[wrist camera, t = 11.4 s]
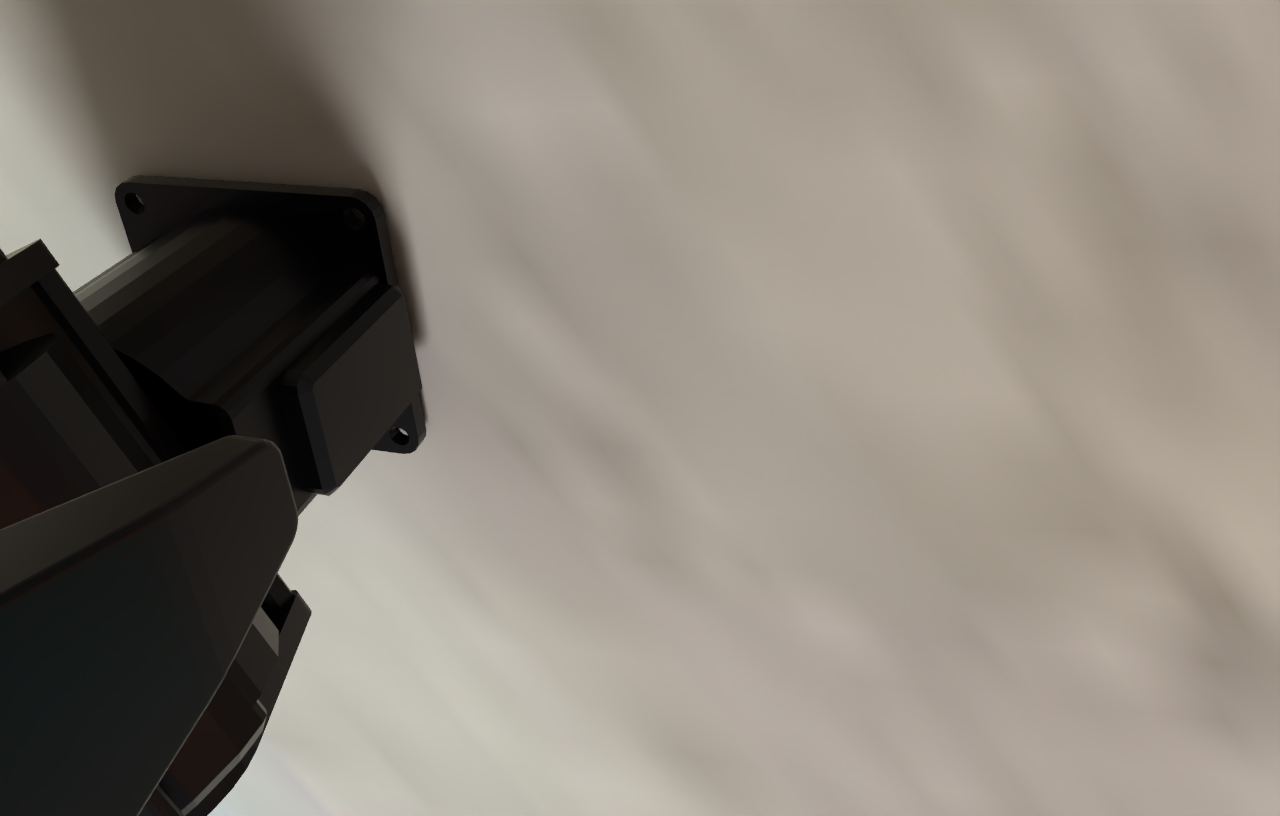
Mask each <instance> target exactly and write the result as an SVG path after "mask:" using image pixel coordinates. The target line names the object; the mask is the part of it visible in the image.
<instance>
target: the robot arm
mask: <svg viewBox="0 0 1280 816" xmlns="http://www.w3.org/2000/svg"><path fill="white" fill-rule="evenodd" d="M136 194H137V195H138V196H139V197H140V198H141V199H142V201H143V202H144V205H145V206H144V205H143V204H142V203H141V202H140V201H139V200H138V198H137V196H136ZM115 199H116V204H117V207H118V210H119V213H120V216H121V219H122V222H123V225H124V228H125V231H126V234H127V237H128V241H129V244H130V247H131V250H132V254H130V255H129V256H127V257H126V258H124V259H123V260H121V261H120V262H118V263H117V264H115V265H114V266H112V267H110V268H109V269H107V270H106V271H104V272H103V273H101V274H100V275H98V276H97V277H95V278H94V279H92V280H91V281H89V282H88V283H86V284H85V285H83V286H82V287H80V288H79V289H77V290H76V291H74V292H72V291H71V290H70V288H69V287H68V286H67V284H66V283H65V281H64V280H63V279H62V277H61V276H60V275H59V273H58V272H57V271H56V269H55V268H56V267H58V266H59V264H58V262H57V261H56V260H55V258H54V257H53V255H52V254H51V253H50V251H49V250H48V249H47V247H46V246H45V244H44V243H43V242H42V240H41V239H39V240H37V241H35V242H33V243H31V244H29V245H26V246H24V247H22V248H20V249H18V250H16V251H14V252H12V253H10V254H8V255H6V256H5V254H4V253H3V252H2V250H1V249H0V816H207V815H208V814H209V813H210V812H211V811H212V810H213V809H214V808H215V807H216V806H217V805H218V804H219V803H220V802H221V801H222V799H223V798H224V797H225V796H226V795H227V794H228V793H229V792H230V791H231V790H232V788H233V787H234V786H235V784H236V783H237V781H238V780H239V779H240V777H241V776H242V774H243V773H244V772H245V770H246V769H247V767H248V765H249V763H250V761H251V760H252V758H253V756H254V754H255V752H256V750H257V748H258V745H259V743H260V740H261V738H262V735H263V733H264V730H265V728H266V725H267V723H268V720H269V718H270V715H271V713H272V710H273V708H274V705H275V703H276V700H277V698H278V695H279V693H280V690H281V688H282V685H283V683H284V680H285V678H286V675H287V673H288V671H289V668H290V666H291V663H292V661H293V658H294V656H295V653H296V651H297V648H298V646H299V643H300V641H301V638H302V636H303V633H304V631H305V628H306V626H307V623H308V621H309V618H310V616H311V612H312V611H311V610H310V608H309V607H308V605H307V604H306V603H305V601H304V600H303V599H302V597H301V596H300V594H299V593H298V592H297V591H296V590H292V591H291V590H290V589H289V588H288V586H287V585H286V584H285V582H284V581H283V580H282V578H281V577H280V575H279V574H278V571H279V569H280V567H281V565H282V563H283V561H284V559H285V557H286V555H287V553H288V551H289V549H290V547H291V545H292V543H293V540H294V538H295V534H296V531H297V525H298V516H299V515H300V513H301V512H302V511H303V510H304V509H305V508H306V507H307V505H308V504H309V503H310V502H311V501H312V500H313V498H314V497H315V496H316V495H317V494H320V495H327V496H330V495H331V494H333V493H334V492H335V491H336V490H337V489H338V488H339V487H340V486H341V485H342V483H343V482H344V481H345V480H346V479H347V478H348V476H349V475H350V474H351V473H352V472H353V470H354V469H355V468H356V467H357V466H358V465H359V463H360V462H361V461H362V460H363V459H364V458H365V456H366V455H367V454H368V453H369V452H370V450H371V449H372V450H379V451H387V452H394V453H402V454H406V453H411V452H413V451H415V450H416V449H417V448H418V446H419V445H420V444H421V443H422V441H423V440H424V438H425V436H426V427H425V422H424V416H423V411H422V406H421V401H420V396H419V393H420V391H421V389H422V385H421V379H420V374H419V369H418V363H417V358H416V353H415V348H414V342H413V337H412V332H411V327H410V321H409V316H408V311H407V305H406V300H405V296H404V295H403V293H402V291H401V290H400V288H399V286H398V281H397V276H396V270H395V265H394V260H393V255H392V250H391V244H390V239H389V234H388V229H387V224H386V218H385V213H384V210H383V208H382V205H381V204H380V202H379V201H378V200H377V199H376V197H375V196H373V195H372V194H370V193H369V192H367V191H363V190H359V189H345V188H329V187H313V186H298V185H282V184H266V183H251V182H235V181H219V180H204V179H188V178H172V177H157V176H141V175H139V176H133V177H131V178H129V179H128V180H126V181H124V182H122V183H121V184H120V185H119V186H118V187H117V188H116V191H115ZM353 208H355V209H358V210H359V211H360V212H361V213H362V214H363V216H364V218H365V223H364V222H361V221H359V220H358V219H357V218H356V217H355V215H354V213H353ZM398 427H399V428H401V429H403V430H404V431H406V432H407V434H408V436H407V435H404V434H403V433H402V432H401V431H399V429H398Z"/></svg>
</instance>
